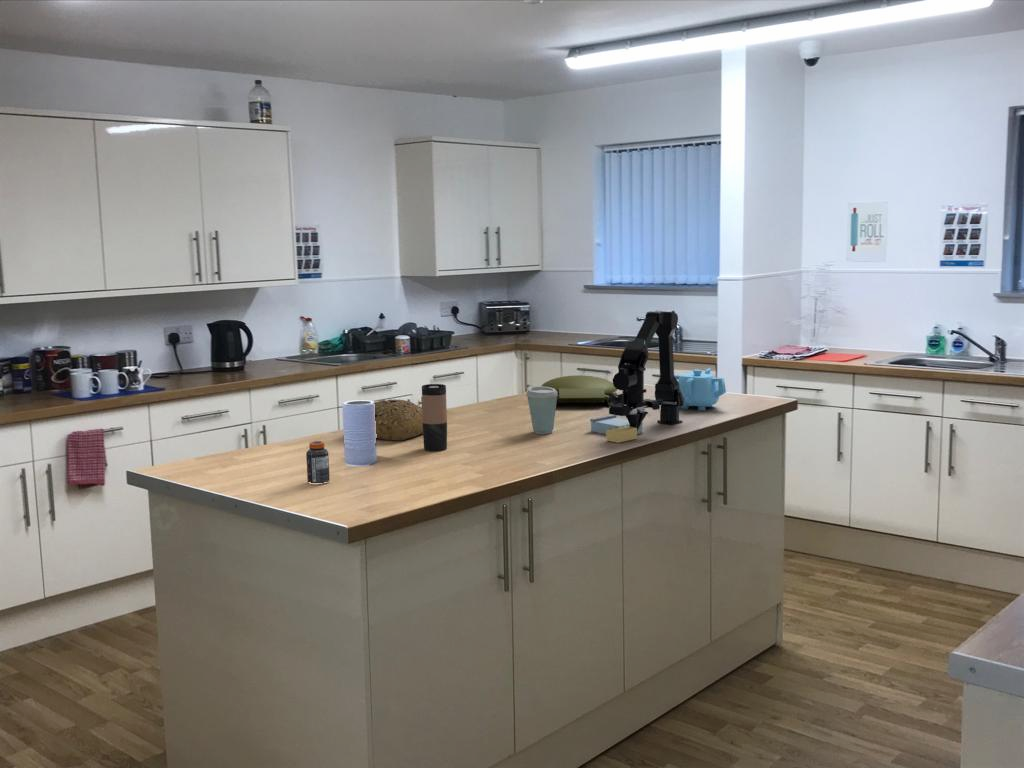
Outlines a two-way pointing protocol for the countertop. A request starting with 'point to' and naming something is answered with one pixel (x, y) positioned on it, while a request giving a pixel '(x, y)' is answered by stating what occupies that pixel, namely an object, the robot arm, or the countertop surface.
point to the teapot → (700, 389)
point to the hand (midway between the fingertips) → (634, 433)
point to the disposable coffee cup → (542, 408)
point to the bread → (397, 420)
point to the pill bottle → (317, 463)
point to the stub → (621, 434)
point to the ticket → (609, 423)
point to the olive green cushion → (581, 389)
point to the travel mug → (434, 417)
